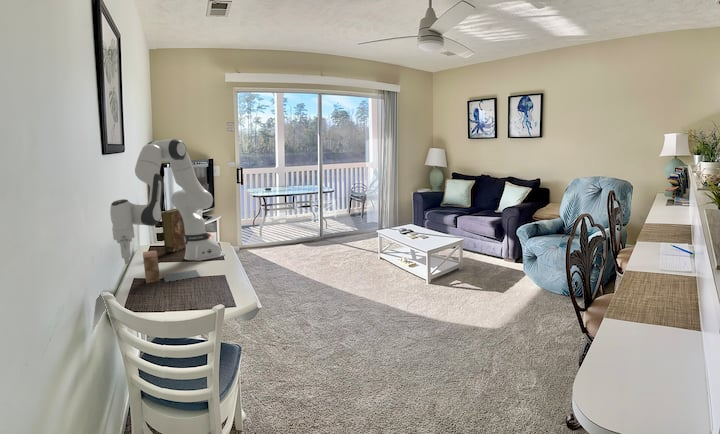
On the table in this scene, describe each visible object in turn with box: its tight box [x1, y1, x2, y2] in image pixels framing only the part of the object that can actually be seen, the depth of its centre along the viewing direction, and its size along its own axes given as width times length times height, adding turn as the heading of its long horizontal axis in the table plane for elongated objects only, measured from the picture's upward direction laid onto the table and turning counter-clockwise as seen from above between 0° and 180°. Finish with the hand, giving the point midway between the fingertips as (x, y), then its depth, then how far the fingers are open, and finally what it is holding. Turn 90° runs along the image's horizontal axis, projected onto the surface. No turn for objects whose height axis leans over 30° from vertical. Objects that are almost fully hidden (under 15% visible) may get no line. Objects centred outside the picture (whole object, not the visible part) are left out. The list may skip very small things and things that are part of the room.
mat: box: [162, 269, 201, 283], centre depth 231 cm, size 16×14×1 cm
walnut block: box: [142, 250, 161, 284], centre depth 224 cm, size 6×6×14 cm
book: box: [161, 208, 186, 253], centre depth 288 cm, size 16×6×25 cm, turn 168°
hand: (127, 263), depth 220 cm, fingers closed
